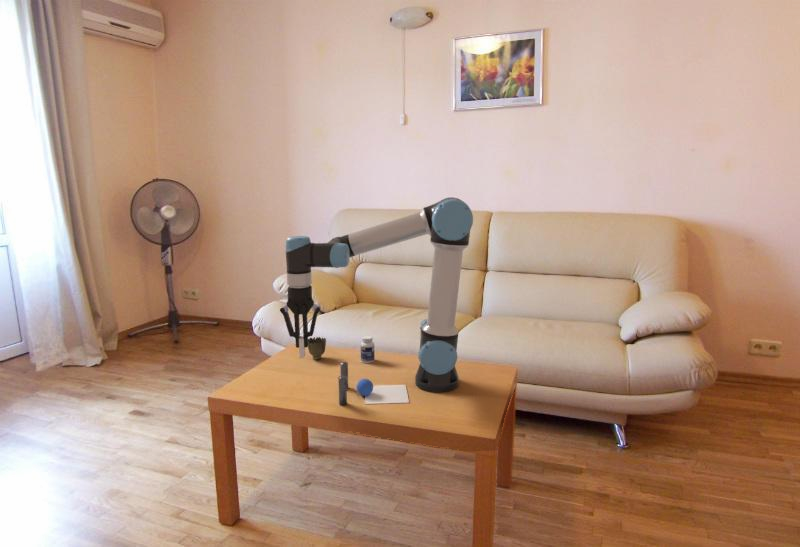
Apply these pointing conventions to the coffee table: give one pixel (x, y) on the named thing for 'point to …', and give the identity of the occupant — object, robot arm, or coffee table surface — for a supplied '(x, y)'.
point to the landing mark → (387, 394)
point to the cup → (316, 347)
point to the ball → (364, 387)
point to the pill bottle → (367, 349)
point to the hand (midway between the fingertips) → (302, 356)
